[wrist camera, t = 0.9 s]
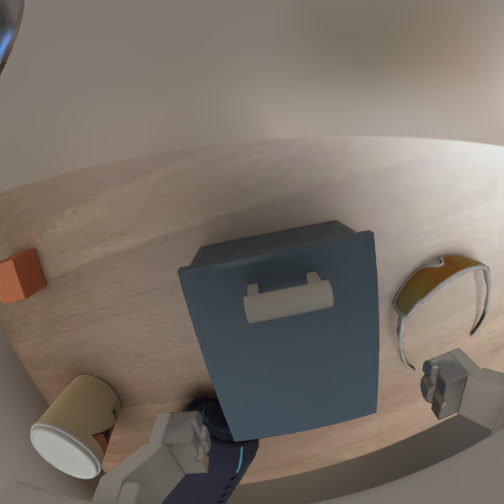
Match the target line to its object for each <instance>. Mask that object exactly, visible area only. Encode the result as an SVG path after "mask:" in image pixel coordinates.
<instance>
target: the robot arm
mask: <svg viewBox="0 0 504 504" xmlns="http://www.w3.org/2000/svg"><path fill="white" fill-rule="evenodd" d="M423 371H424V373H425V375H424V376H423V377H422V379H421V392H422V395H423V397H424V399H425V400H426V402H429V403H431V404H432V408H431V409H432V411H433V412H434V414H435V415H436V417H437V418H438V420H440V419H443V418H445V417H448V416H450V415H452V414H455V413H457V412H458V414H460V415H462V416H464V417H466V418H468V419H470V420H473V421H474V422H477V423H479V424H481V425H483V426H485V427H487V428H489V429H491V430H493V431H492V433H491V435H490V436H489V437H488V438H486V439H484V440H483V441H481V442H479V443H477V444H475V445H474V446H472V447H470V448H468V449H466V450H464V451H462V452H460V453H458V454H457V455H454V456H452V457H450V458H448V459H446V460H444V461H442V462H440V463H437V464H435V465H433V466H431V467H428V468H426V469H424V470H421V471H419V472H416V473H414V474H411V475H409V476H406V477H404V478H401V479H398V480H395V481H393V482H390V483H387V484H384V485H381V486H378V487H375V488H372V489H368V490H365V491H361V492H358V493H354V494H350V495H347V496H343V497H338V498H335V499H330V500H325V501H321V502H316V503H310V504H504V373H502V372H498V371H494V370H490V369H486V368H483V369H480V368H479V367H478V366H477V365H476V364H475V363H474V362H473V361H472V360H471V359H470V358H469V357H468V356H467V355H466V354H465V353H464V352H463V351H462V350H461V349H459V348H457V349H454V350H452V351H450V352H447V353H445V354H443V355H440V356H438V357H435V358H432V359H430V360H427V361H425V362H424V364H423ZM202 423H203V417H202V415H201V412H199V411H188V412H172V413H159V414H158V415H157V417H156V420H155V423H154V426H153V429H152V432H151V435H150V438H149V441H148V444H143V445H142V446H141V447H140V448H138V449H137V450H136V451H135V452H133V453H132V454H131V455H130V456H128V457H127V458H126V459H124V460H123V461H122V462H121V463H119V464H118V465H117V466H116V467H114V468H113V469H112V470H110V471H109V472H108V473H106V474H105V475H104V476H102V477H101V479H100V481H99V484H98V487H97V489H96V492H95V494H94V497H93V499H92V502H90V501H85V500H81V499H77V498H73V497H69V496H65V495H61V494H57V493H54V492H50V491H48V490H44V489H41V488H38V487H35V486H32V485H30V484H27V483H24V482H21V481H11V482H8V483H6V484H4V485H2V486H0V504H161V503H162V502H163V501H164V499H165V498H166V497H167V496H168V495H169V494H170V492H171V491H172V490H173V489H174V488H175V487H176V485H177V484H178V483H179V482H180V481H181V479H182V478H183V477H184V476H185V474H196V473H208V466H209V457H208V455H207V453H208V452H209V451H210V448H211V440H210V434H209V430H208V428H207V426H205V425H204V424H202Z"/></svg>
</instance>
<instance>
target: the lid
mask: <svg viewBox="0 0 504 504" xmlns="http://www.w3.org/2000/svg"><path fill="white" fill-rule="evenodd" d="M177 272H178V276H179V279H180V283H181V286H182V290H183V293H184V297H185V300H186V303H187V307H188V310H189V313H190V316H191V320H192V323H193V326H194V329H195V332H196V336H197V339H198V342H199V345H200V348H201V351H202V354H203V357H204V360H205V363H206V366H207V369H208V372H209V374H210V377H211V380H212V383H213V386H214V389H215V391H216V394H217V397H218V400H219V402H220V405H221V408H222V410H223V413H224V416H225V418H226V421H227V423H228V426H229V429H230V431H231V434H232V436H233V439H234V441H244V440H252V439H259V438H266V437H273V436H279V435H285V434H291V433H296V432H301V431H306V430H311V429H315V428H320V427H324V426H329V425H333V424H337V423H341V422H345V421H348V420H352V419H356V418H359V417H363V416H366V415H370V414H373V413H376V410H377V394H378V370H379V309H378V284H377V268H376V254H375V242H374V233H373V232H372V231H370V230H367V231H362V232H357V233H352V234H347V235H342V236H337V237H332V238H327V239H322V240H317V241H312V242H307V243H302V244H297V245H292V246H287V247H282V248H277V249H271V250H266V251H261V252H256V253H251V254H246V255H241V256H236V257H231V258H226V259H221V260H216V261H211V262H206V263H200V264H195V265H190V266H185V267H180V268H179V269H178V271H177Z"/></svg>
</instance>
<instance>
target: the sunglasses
mask: <svg viewBox="0 0 504 504" xmlns="http://www.w3.org/2000/svg"><path fill="white" fill-rule="evenodd" d="M440 259H441V260H440V263H441V264H439V265H430V266H429V265H427V266H423V267H420V268H419V269H417V270H416V271H415V272H414V273H413V274H412V275H411V276H410V277H409V278H408V279H407V280H406V281H405V283H404V284H403V285H402V287H401V289H400V290H399V292H398V293H397V295H396V297H395V300H394V302H393V306H394V309H395V311H396V312H397V314H398V315H399V316H398V325H397V337H398V345H399V351H400V355H401V358H402V361H403V362H404V364H405V365H406V366H407V368H409V369H411V370H413V371H416V370H415V368H414V367H412V366H410V365H409V364H407V362H406V361H405V358H404V355H403V350H402V338H403V332H404V327H405V322H406V319H408V318H409V317H410V316H411V314H412V313H413V312H414V311H415V310H416V308H417V307H418V306H419V305H420V304H423V303H424V302H425V301H426V300H428V299H429V298H430V297H431V296H432V295H433V294H434V293H435V292H436V291H438V290H439V289H440V288H442V287H443V286H445V285H446V284H448V283H449V282H451V281H452V280H454V279H455V278H457V277H459V276H461V275H463V274H465V273H467V272H470V271H474V270H480V269H483V273H484V279H485V282H486V285H487V294H486V299H485V303H484V310H483V313H482V315H481V317H480V319H479V321H478V323H477V324H476V326H475V327H474V329H473V330H472V331H471V333H470V336H471V337H472V336H473V335H474V334H475V332H476V331H477V330H478V328H479V327H480V326H481V324H482V322H483V320H484V319H485V316H486V314H487V311H488V305H489V299H490V289H491V278H490V270H489V267H488V266H486V265H485V264H483V263H481V262H479V261H476V260H473V259H471V258H467V257H464V256H460V255H445V256H441V257H440Z"/></svg>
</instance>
